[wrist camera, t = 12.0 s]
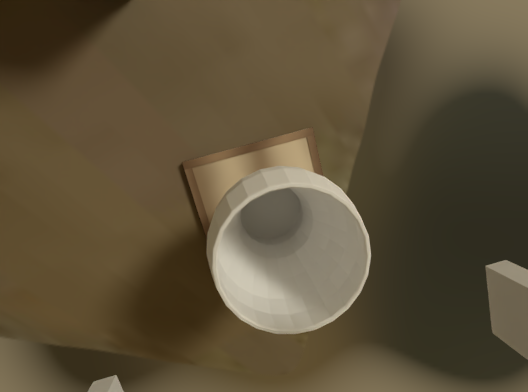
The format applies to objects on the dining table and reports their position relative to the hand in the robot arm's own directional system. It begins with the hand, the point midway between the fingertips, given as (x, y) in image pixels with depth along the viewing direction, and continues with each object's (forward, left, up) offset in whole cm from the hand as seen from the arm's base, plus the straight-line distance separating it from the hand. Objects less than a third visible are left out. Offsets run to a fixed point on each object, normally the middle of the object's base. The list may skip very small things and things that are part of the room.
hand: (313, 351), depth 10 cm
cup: (+1, 0, -22) cm, 22 cm away
